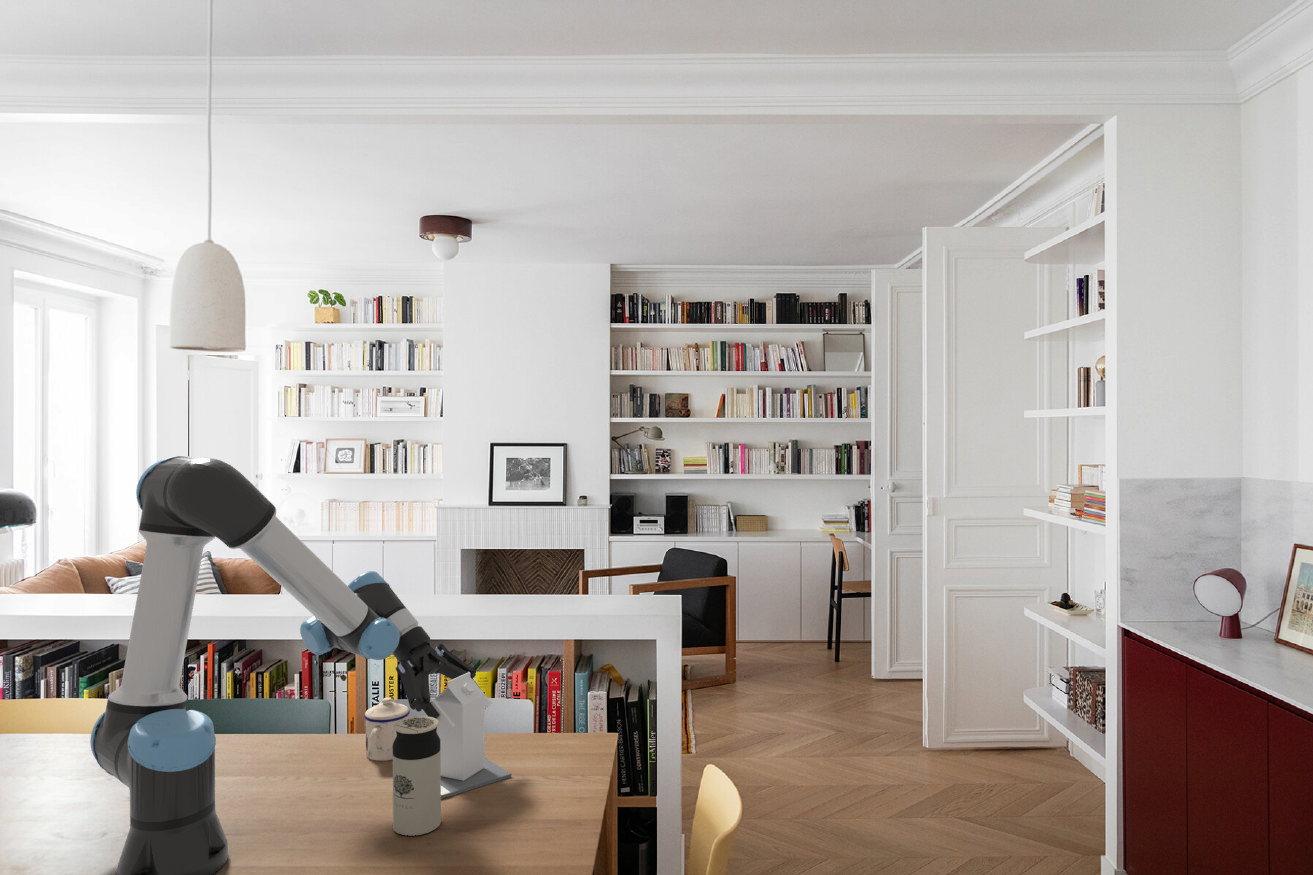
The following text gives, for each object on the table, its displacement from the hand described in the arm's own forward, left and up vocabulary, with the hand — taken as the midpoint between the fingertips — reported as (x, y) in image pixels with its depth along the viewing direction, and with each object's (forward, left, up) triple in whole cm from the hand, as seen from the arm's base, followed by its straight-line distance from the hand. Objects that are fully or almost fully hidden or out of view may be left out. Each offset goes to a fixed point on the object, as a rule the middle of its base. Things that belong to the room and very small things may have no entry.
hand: (469, 718), depth 168 cm
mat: (+3, +2, -11) cm, 12 cm away
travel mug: (-13, +17, -11) cm, 24 cm away
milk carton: (+1, +1, -11) cm, 11 cm away
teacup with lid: (+20, +9, -11) cm, 25 cm away
